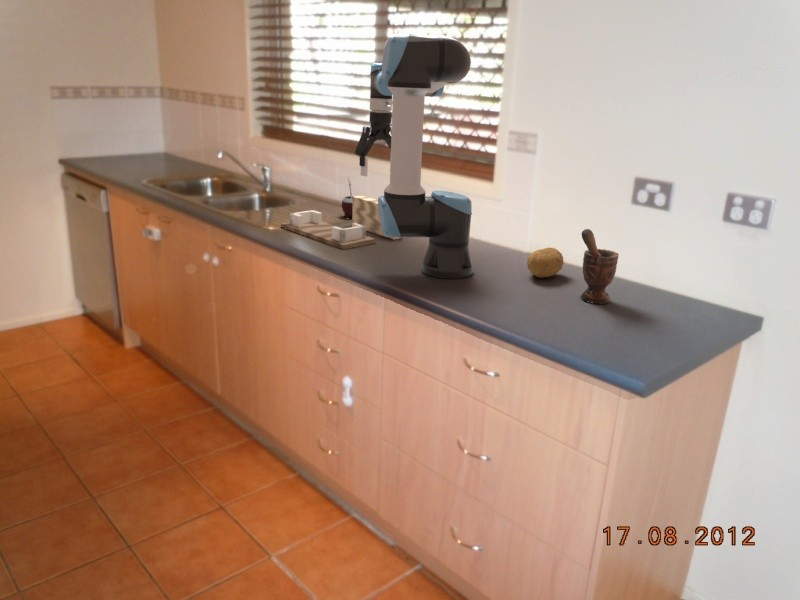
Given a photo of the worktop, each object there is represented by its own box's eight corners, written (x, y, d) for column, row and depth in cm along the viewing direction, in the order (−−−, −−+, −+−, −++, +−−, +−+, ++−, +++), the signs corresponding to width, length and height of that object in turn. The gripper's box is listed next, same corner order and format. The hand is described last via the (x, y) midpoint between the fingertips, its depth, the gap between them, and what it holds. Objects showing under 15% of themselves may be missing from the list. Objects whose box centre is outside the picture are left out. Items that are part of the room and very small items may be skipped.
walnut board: (375, 243, 224) (375, 238, 224) (342, 249, 215) (343, 245, 214) (312, 222, 249) (312, 218, 248) (280, 227, 239) (280, 223, 239)
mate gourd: (352, 220, 254) (353, 181, 249) (336, 217, 258) (336, 179, 253) (363, 217, 260) (364, 179, 255) (347, 214, 264) (348, 176, 259)
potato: (516, 278, 194) (518, 251, 191) (538, 268, 204) (541, 243, 201) (546, 285, 188) (549, 258, 185) (568, 275, 198) (571, 249, 196)
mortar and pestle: (598, 310, 170) (610, 234, 163) (567, 302, 175) (577, 228, 168) (616, 300, 178) (627, 227, 172) (585, 292, 183) (595, 221, 177)
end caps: (365, 237, 224) (365, 226, 223) (342, 242, 218) (342, 230, 216) (312, 220, 245) (312, 210, 243) (290, 224, 238) (290, 213, 237)
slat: (402, 238, 232) (404, 207, 229) (394, 240, 230) (395, 208, 226) (360, 224, 249) (361, 195, 246) (352, 226, 247) (352, 196, 243)
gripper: (359, 113, 215) (358, 178, 222) (414, 111, 231) (412, 173, 238) (344, 111, 220) (344, 175, 227) (400, 109, 236) (397, 170, 243)
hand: (378, 174), depth 233 cm, fingers open, 13 cm apart
